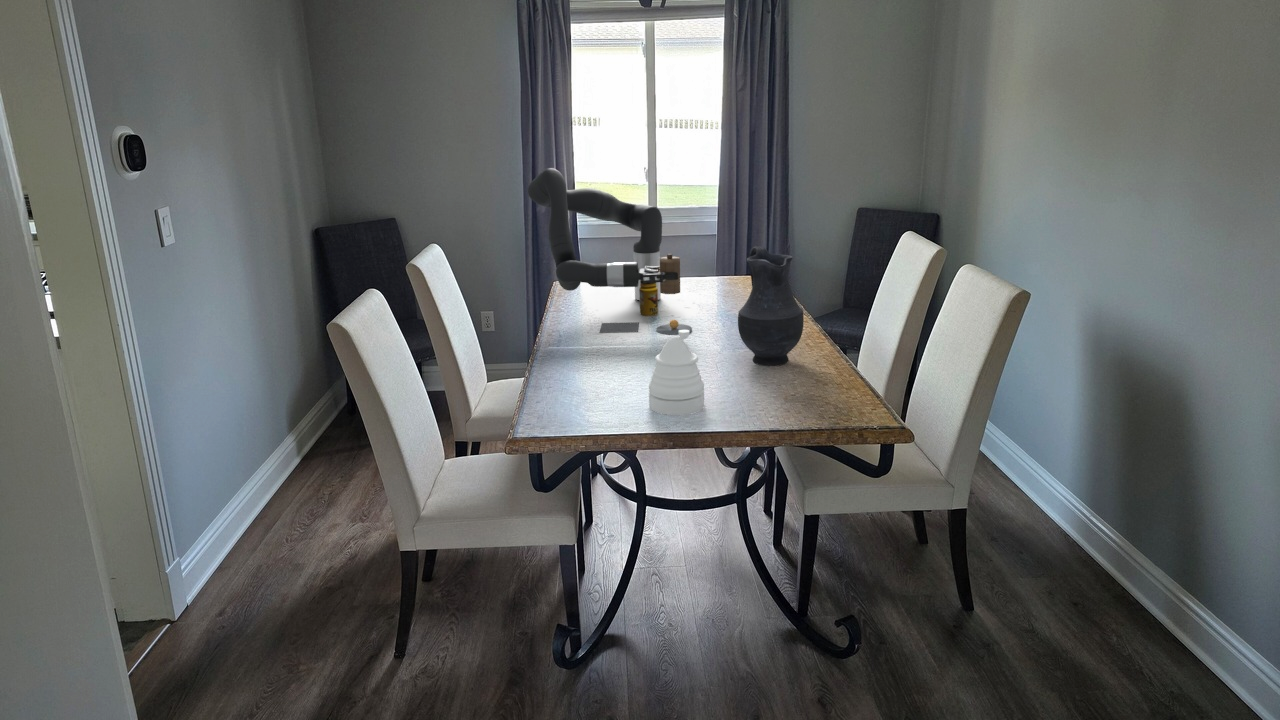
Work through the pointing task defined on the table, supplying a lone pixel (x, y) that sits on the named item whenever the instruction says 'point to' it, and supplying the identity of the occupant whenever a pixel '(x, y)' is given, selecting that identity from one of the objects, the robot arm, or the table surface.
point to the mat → (619, 327)
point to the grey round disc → (668, 330)
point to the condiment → (648, 299)
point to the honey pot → (676, 379)
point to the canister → (670, 266)
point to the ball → (674, 324)
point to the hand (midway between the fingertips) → (678, 273)
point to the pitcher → (770, 310)
